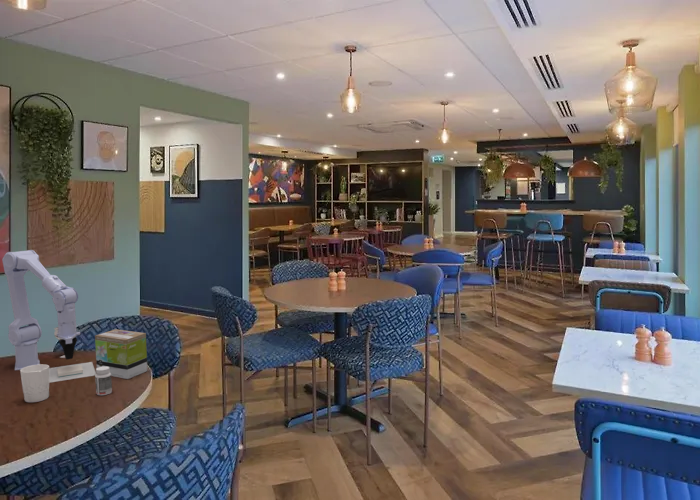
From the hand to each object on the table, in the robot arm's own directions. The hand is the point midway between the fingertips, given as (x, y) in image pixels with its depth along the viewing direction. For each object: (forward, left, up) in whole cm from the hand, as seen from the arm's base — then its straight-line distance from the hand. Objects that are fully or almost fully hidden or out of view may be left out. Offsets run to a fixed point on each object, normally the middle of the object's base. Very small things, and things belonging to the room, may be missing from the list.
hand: (69, 358), depth 193 cm
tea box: (+10, +16, -6) cm, 20 cm away
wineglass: (-24, 0, -6) cm, 24 cm away
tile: (-3, 0, -4) cm, 5 cm away
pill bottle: (+28, +8, -6) cm, 30 cm away
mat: (0, 0, -5) cm, 5 cm away
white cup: (+22, -10, -6) cm, 25 cm away
